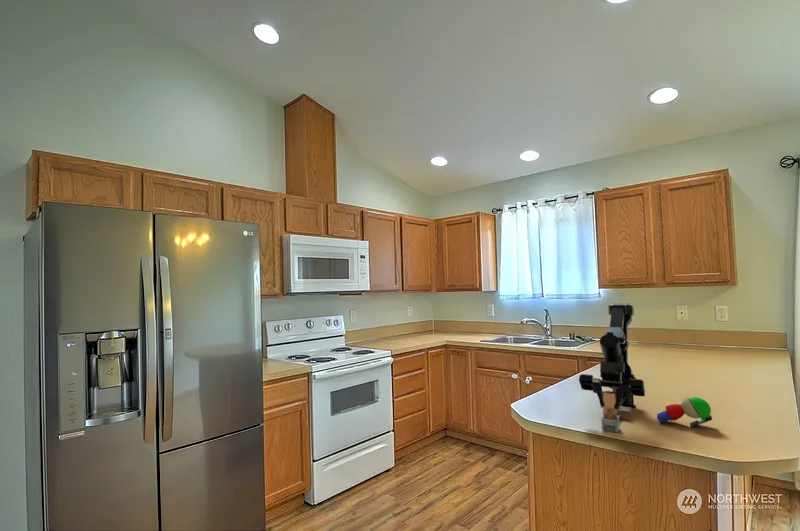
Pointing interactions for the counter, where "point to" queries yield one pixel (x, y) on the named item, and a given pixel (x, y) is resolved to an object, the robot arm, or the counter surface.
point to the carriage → (610, 410)
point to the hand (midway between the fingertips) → (609, 407)
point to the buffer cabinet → (624, 412)
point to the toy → (687, 411)
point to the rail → (612, 428)
